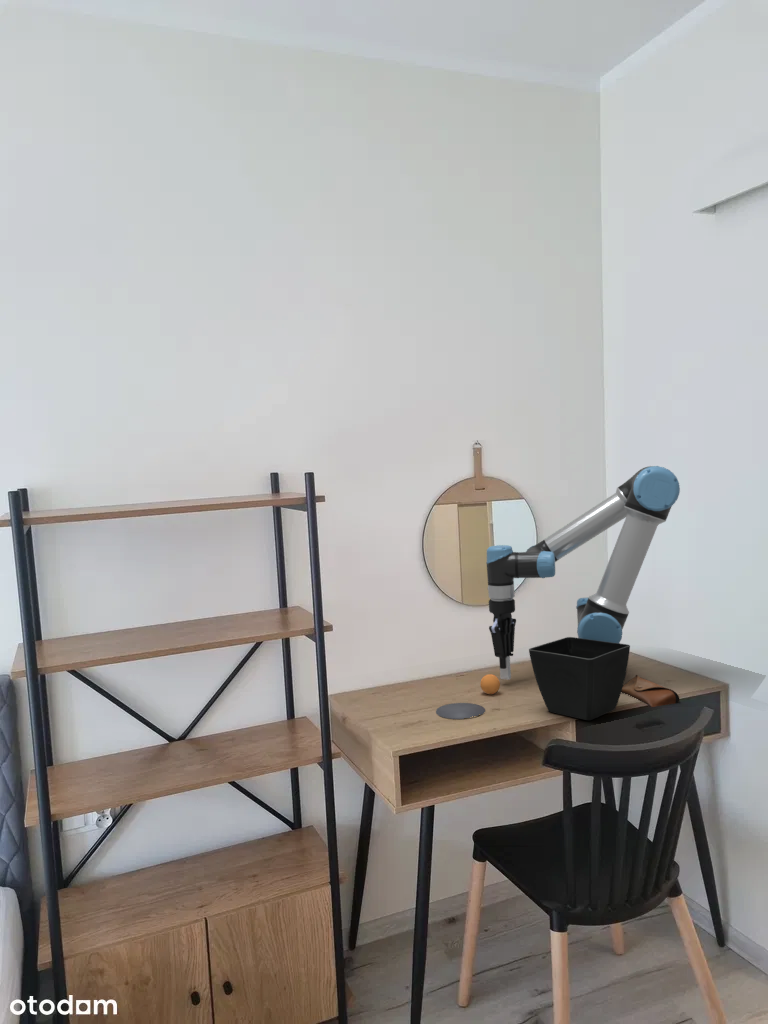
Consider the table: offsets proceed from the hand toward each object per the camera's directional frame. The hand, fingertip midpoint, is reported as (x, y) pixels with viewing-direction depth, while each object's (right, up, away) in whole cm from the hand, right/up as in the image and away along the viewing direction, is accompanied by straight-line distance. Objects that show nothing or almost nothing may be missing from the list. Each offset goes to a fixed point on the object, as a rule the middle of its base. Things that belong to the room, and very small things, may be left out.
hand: (505, 678), depth 223 cm
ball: (-6, 0, -8) cm, 10 cm away
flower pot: (+15, -3, -26) cm, 31 cm away
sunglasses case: (+35, -2, -18) cm, 39 cm away
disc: (-15, -4, -21) cm, 27 cm away
